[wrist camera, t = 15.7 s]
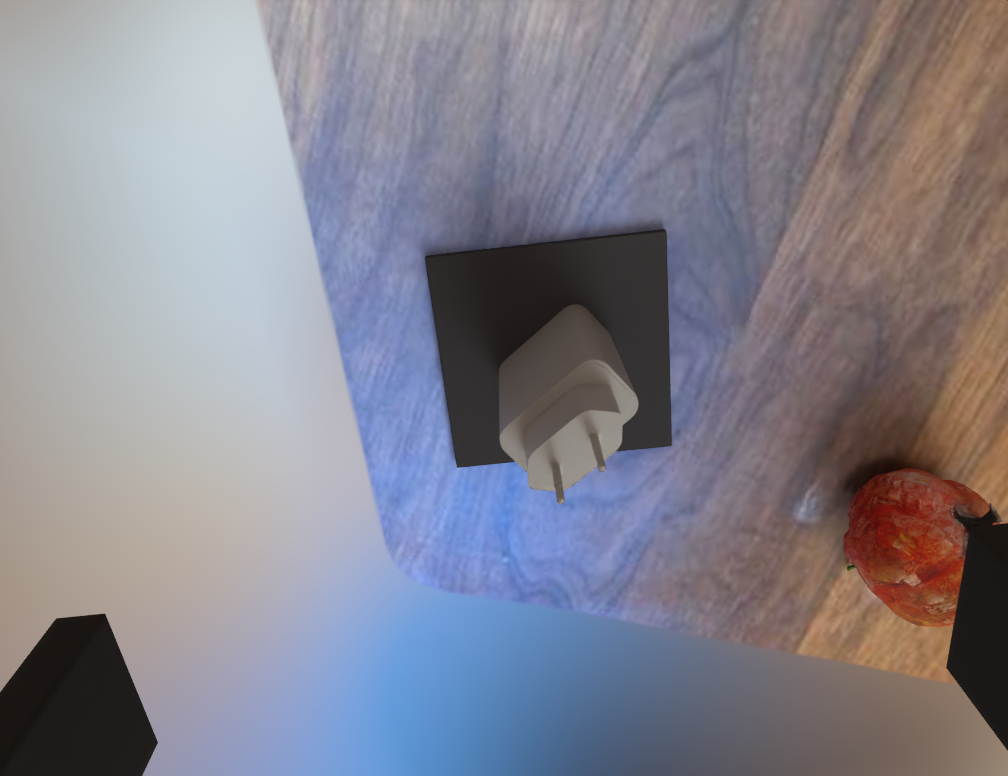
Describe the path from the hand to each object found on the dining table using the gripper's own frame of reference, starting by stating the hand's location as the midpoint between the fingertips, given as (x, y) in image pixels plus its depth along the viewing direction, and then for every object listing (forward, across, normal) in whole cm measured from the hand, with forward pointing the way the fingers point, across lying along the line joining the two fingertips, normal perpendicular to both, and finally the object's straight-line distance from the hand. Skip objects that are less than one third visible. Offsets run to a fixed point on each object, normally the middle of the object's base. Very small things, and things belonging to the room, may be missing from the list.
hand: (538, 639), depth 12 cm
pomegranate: (+25, +19, -16) cm, 35 cm away
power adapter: (+25, +2, -5) cm, 26 cm away
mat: (+25, +2, -5) cm, 26 cm away
